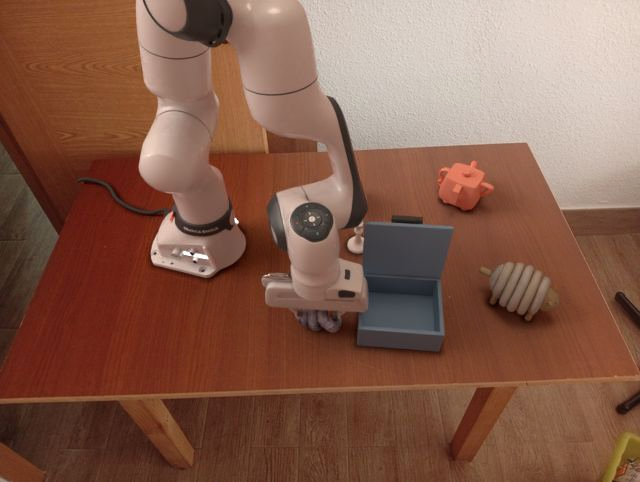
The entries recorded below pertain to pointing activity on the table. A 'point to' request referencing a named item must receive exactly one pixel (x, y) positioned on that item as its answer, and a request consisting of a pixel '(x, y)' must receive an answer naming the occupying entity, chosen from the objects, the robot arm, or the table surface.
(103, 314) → the table surface
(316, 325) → the seashell
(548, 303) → the toy sheep
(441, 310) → the chest
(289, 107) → the robot arm
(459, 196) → the teapot
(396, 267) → the lid
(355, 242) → the chess piece
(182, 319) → the table surface
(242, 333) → the table surface
